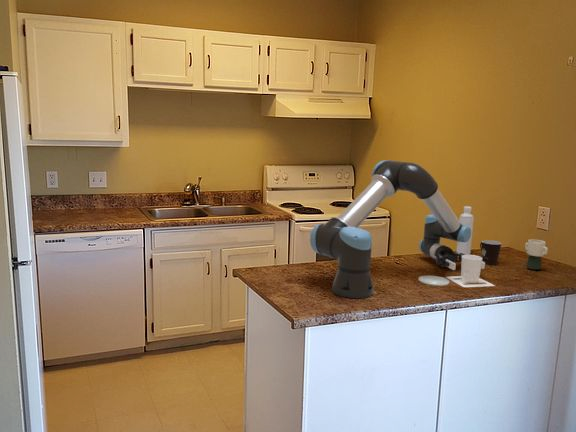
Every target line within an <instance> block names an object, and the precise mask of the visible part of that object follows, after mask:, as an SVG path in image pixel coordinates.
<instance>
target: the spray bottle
mask: <svg viewBox="0 0 576 432" xmlns="http://www.w3.org/2000/svg"><path fill="white" fill-rule="evenodd" d="M471 212H472V206H463V213H461V214H460V215H459V218H458V220H459V221H460V223H461V224H462V225H466V226H469V227H470V228H471V237H470V239H469V240H468V241H467V242H458V241H456V252H455V253H456V254H460V253H463V254H465V255H471V252H472V251H471V250H472V240H473V233H474V230H473V229H474V219H475V217H474V215H473V214H471Z"/></svg>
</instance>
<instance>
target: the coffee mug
mask: <svg viewBox="0 0 576 432" xmlns="http://www.w3.org/2000/svg"><path fill="white" fill-rule="evenodd" d="M479 247H480V250H481V257H482V261H483V262H485V265H487V264H488V266H496V265H497V264H498V260H499V256H500V251H501V248H502V242H500V241H497V240H490V239H489V240H488V239H486V240H481V242H480V244H479Z"/></svg>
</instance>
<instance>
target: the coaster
mask: <svg viewBox="0 0 576 432" xmlns="http://www.w3.org/2000/svg"><path fill="white" fill-rule="evenodd" d="M418 282H420V283H421V284H424V285H427V286H433V287H434V286H435V287H444V286H445V287H446V286H448V285H450V280H449V279H448V278H446V277H442V276H437V275H421V276H419V277H418Z"/></svg>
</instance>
